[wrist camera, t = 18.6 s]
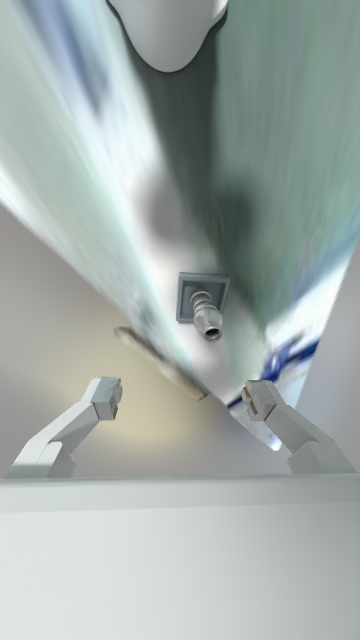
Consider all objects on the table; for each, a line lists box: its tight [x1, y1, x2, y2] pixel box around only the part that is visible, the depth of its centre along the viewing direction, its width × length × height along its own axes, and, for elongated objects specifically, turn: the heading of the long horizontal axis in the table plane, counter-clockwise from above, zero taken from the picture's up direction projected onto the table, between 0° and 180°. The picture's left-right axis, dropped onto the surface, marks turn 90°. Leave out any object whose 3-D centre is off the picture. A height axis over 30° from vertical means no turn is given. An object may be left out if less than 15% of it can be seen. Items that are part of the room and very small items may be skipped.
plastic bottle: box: [189, 288, 223, 342], centre depth 39 cm, size 6×7×20 cm
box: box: [176, 272, 231, 322], centre depth 47 cm, size 14×14×4 cm
